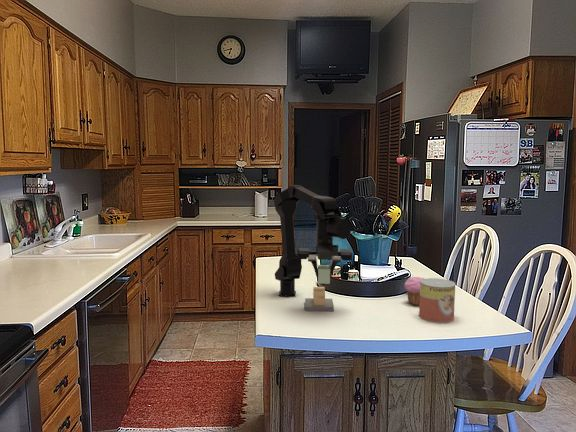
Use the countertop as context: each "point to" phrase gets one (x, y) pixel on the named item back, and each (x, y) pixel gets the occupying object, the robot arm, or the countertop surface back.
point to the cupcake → (413, 289)
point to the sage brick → (324, 274)
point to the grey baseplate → (311, 307)
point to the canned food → (437, 300)
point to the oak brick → (318, 296)
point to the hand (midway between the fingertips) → (323, 278)
